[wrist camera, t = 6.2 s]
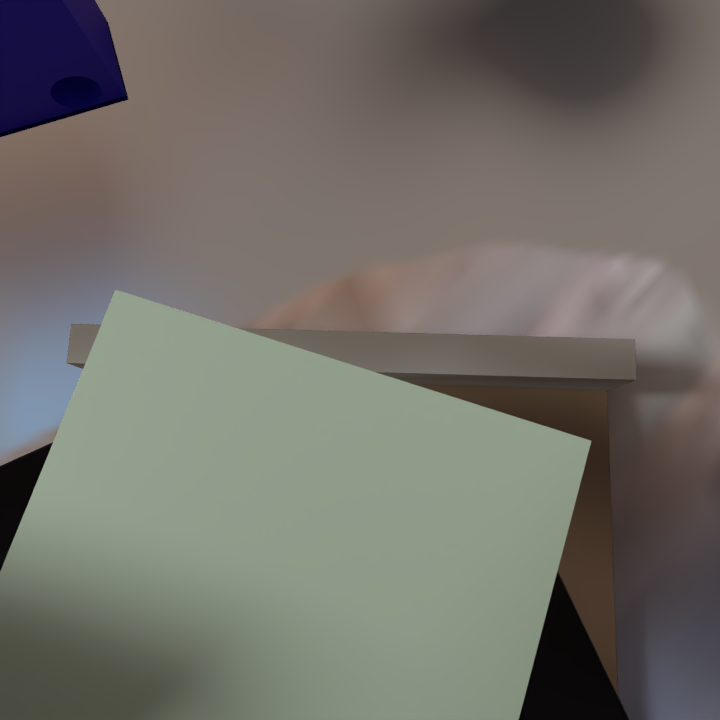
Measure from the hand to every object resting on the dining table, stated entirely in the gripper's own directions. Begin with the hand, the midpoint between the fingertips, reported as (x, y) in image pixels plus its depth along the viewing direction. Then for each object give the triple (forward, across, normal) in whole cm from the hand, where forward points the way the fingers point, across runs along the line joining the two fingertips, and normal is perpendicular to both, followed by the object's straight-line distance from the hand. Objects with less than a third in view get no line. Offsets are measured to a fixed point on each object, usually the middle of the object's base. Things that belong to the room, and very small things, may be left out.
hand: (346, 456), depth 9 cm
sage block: (+4, 0, +6) cm, 7 cm away
